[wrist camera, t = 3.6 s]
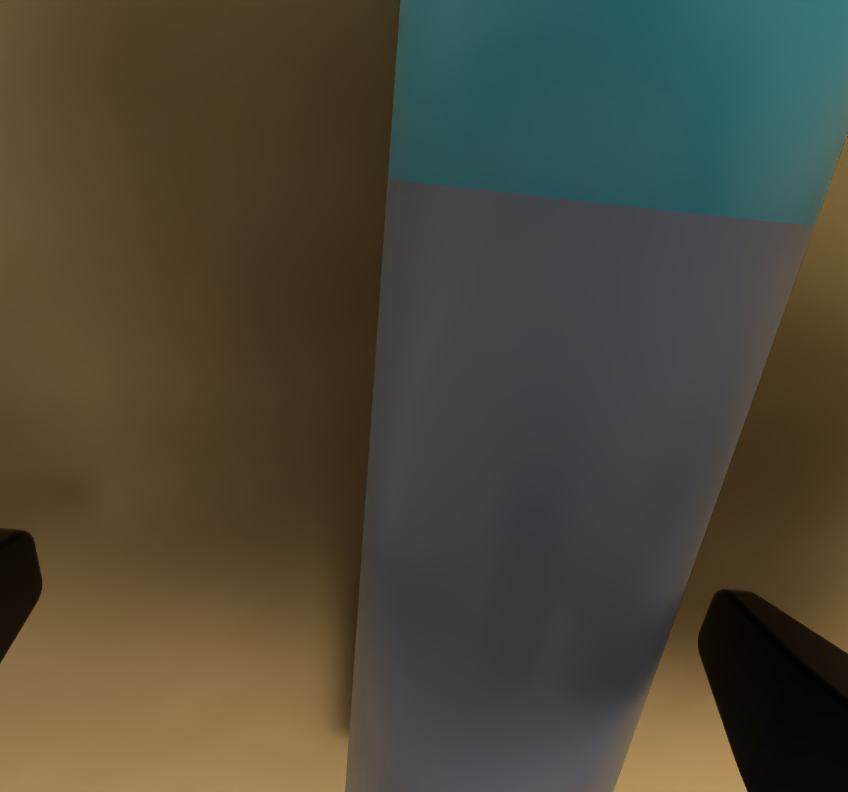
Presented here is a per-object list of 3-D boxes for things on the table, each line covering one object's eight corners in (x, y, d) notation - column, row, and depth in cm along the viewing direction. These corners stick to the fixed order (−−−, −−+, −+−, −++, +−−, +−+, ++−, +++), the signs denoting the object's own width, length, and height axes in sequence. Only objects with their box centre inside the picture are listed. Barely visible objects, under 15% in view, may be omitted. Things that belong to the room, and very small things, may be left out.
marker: (430, 763, 12) (584, 909, 10) (291, 916, 9) (460, 1163, 7) (563, -87, 6) (992, -187, 4) (309, -319, 4) (1130, -926, 1)
